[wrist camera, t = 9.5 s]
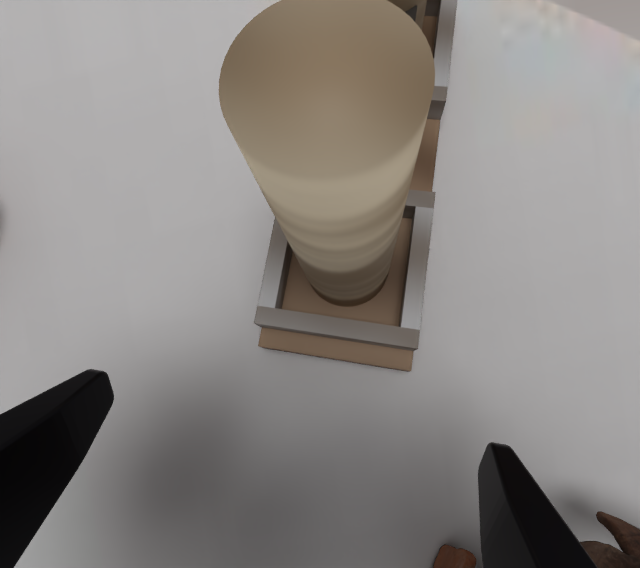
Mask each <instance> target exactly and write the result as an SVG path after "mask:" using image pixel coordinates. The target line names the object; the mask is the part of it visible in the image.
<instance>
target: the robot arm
mask: <svg viewBox="0 0 640 568" xmlns="http://www.w3.org/2000/svg"><path fill="white" fill-rule="evenodd" d="M113 400H114V393H113V390H112V387H111V383H110V380H109V377H108V374H107V373H106V372H104V371H99V370H94V369H89V370H86V371H84V372H82V373H80V374H78V375H76V376H74V377H72V378H70V379H68V380H66V381H64V382H63V383H61V384H59V385H57V386H55V387H53V388H51V389H49V390H47V391H45V392H43V393H41V394H39V395H37V396H35V397H33V398H31V399H30V400H28V401H26V402H24V403H22V404H20V405H18V406H16V407H14V408H12V409H10V410H8V411H6V412H4V413H2V414H0V568H14V566H15V565H16V563H17V562H18V560H19V559H20V557H21V555H22V554H23V552H24V551H25V549H26V548H27V546H28V545H29V543H30V542H31V540H32V539H33V537H34V535H35V534H36V532H37V531H38V529H39V528H40V526H41V525H42V523H43V522H44V520H45V519H46V517H47V516H48V514H49V512H50V511H51V509H52V508H53V506H54V505H55V503H56V502H57V500H58V499H59V497H60V496H61V494H62V492H63V491H64V489H65V488H66V486H67V485H68V483H69V482H70V480H71V479H72V477H73V476H74V474H75V472H76V471H77V469H78V468H79V466H80V464H81V463H82V461H83V459H84V458H85V456H86V454H87V452H88V450H89V448H90V446H91V444H92V443H93V441H94V439H95V437H96V435H97V433H98V431H99V429H100V427H101V425H102V423H103V421H104V420H105V418H106V416H107V414H108V412H109V410H110V408H111V406H112V404H113ZM478 486H479V511H480V536H481V551H482V559H483V566H484V568H598V567H597V566H596V564H595V563H594V562H593V560H592V559H591V557H590V556H589V555H588V553H587V552H586V550H585V549H584V548H583V546H582V545H581V544H580V542H579V541H578V539H577V538H576V537H575V535H574V534H573V532H572V531H571V530H570V528H569V527H568V526H567V524H566V523H565V521H564V520H563V519H562V517H561V516H560V514H559V513H558V512H557V510H556V509H555V508H554V506H553V505H552V503H551V502H550V501H549V499H548V498H547V496H546V495H545V494H544V492H543V491H542V490H541V488H540V487H539V485H538V484H537V483H536V481H535V480H534V478H533V477H532V476H531V474H530V473H529V472H528V470H527V469H526V467H525V466H524V465H523V463H522V462H521V460H520V459H519V458H518V456H517V455H516V454H515V452H514V451H513V449H512V448H511V447H509V446H508V445H504V444H499V443H493V442H491V443H489V444H488V445H487V448H486V450H485V452H484V455H483V457H482V460H481V462H480V465H479V470H478Z"/></svg>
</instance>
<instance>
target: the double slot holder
mask: <svg viewBox="0 0 640 568" xmlns="http://www.w3.org/2000/svg"><path fill="white" fill-rule="evenodd" d="M456 8H457V0H427V3H426V9H425V14H424V20H423V26H422V32H423V34H424V35H425V37H426V39H427V41H428V44H429V46H430V48H431V52H432V55H433V59H434V67H435V85H434V90H433V95H432V100H431V104H430V108H429V112H428V116H427V120H426V124H425V128H424V132H423V136H422V140H421V144H420V148H419V152H418V156H417V160H416V164H415V168H414V172H413V176H412V180H411V184H410V188H409V192H408V196H407V200H406V204H405V208H404V212H403V216H402V220H401V224H400V228H399V232H398V236H397V240H396V244H395V248H394V252H393V256H392V260H391V264H390V268H389V272H388V276H387V279H386V282H385V284H384V286H383V288H382V289H381V291H380V292H379V293H378V294H377V295H376V296H375V297H374V298H372V299H371V300H369V301H368V302H366V303H363V304H361V305H358V306H352V307H343V306H337V305H334V304H331V303H329V302H327V301H325V300H324V299H322V298H321V297H320V296H319V295H317V293H316V292H315V291H314V290H313V288H312V287H311V285H310V283H309V281H308V279H307V277H306V275H305V273H304V271H303V269H302V267H301V266H300V264H299V262H298V260H297V258H296V256H295V254H294V252H293V250H292V248H291V246H290V244H289V242H288V241H287V239H286V237H285V235H284V233H283V231H282V229H281V227H280V225H279V223H278V221H277V219H276V217H275V220H274V225H273V230H272V235H271V240H270V245H269V250H268V255H267V260H266V265H265V270H264V275H263V280H262V286H261V291H260V296H259V301H258V306H257V311H256V316H255V321H254V323H255V324H257V325H258V326H260V327H262V329H261V334H260V339H259V345H258V346H260V347H263V348H267V349H273V350H280V351H286V352H292V353H298V354H304V355H310V356H316V357H322V358H329V359H335V360H341V361H347V362H353V363H359V364H365V365H372V366H378V367H384V368H390V369H396V370H402V371H411V367H412V359H413V351H414V350H416V349H418V341H419V332H420V324H421V315H422V306H423V297H424V288H425V280H426V271H427V262H428V253H429V245H430V236H431V227H432V218H433V209H434V201H435V192H432V186H433V178H434V169H435V160H436V152H437V143H438V134H439V126H440V119H441V116H442V112H443V109H444V106H445V102H446V95H447V87H448V78H449V69H450V60H451V52H452V43H453V34H454V25H455V16H456Z"/></svg>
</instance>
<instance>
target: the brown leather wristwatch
mask: <svg viewBox="0 0 640 568" xmlns="http://www.w3.org/2000/svg"><path fill="white" fill-rule="evenodd" d="M596 516H597V519H598V521H599V522H600V523H601V524H603V525H604V526H605V527H606V528H607V529H608V530H609V531H610V532H611V534H612V535H613V536H614V538H615V540H616V541H617V543H618V544H619V546H620V548H621V550H622V551H623V552H621V551H620V550H618V549H617V548H615V547H613V546H611V545H609V544H603V543H601V542H598V541H584V542H580V544H581V545H582V546H583V548H584V549H585V550H586V552H587V553H588V555H589V556H590V557H591V559H592V560H593V562H594V563H595V564H596V566H597V567H598V568H640V529H638V528H636V527H634V526H633V525H630V524H629V523H627V522H625V521H623V520H621V519H619V518H617V517H614V516H612V515H609V514H606V513H604V512H597V514H596ZM475 566H476V558H475V556H474V555H473V554H472V553H471V552H469V551H467V550H465V549H462V548H459V549H456V548H455V547H452V546H449V545H443V546H442V547H441V548H440V551H439V553H438V556H437V557H436V560H435V562H434V567H433V568H475Z"/></svg>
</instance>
